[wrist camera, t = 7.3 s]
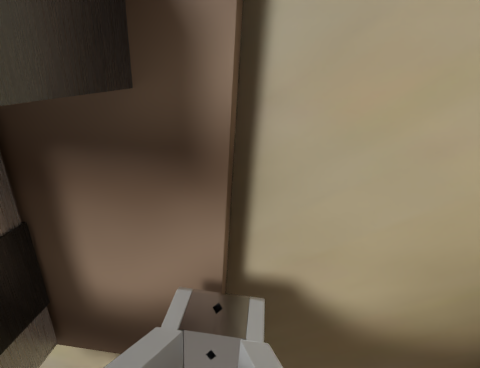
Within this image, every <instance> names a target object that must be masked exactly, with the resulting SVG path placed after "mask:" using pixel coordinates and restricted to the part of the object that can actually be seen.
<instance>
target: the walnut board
mask: <svg viewBox="0 0 480 368" xmlns="http://www.w3.org/2000/svg"><path fill="white" fill-rule="evenodd" d="M125 3H126V15H127V26H128V37H129V49H130V60H131V72H132V83H133V88H130V89H123V90H115V91H108V92H100V93H93V94H86V95H78V96H71V97H63V98H56V99H48V100H41V101H33V102H26V103H18V104H11V105H4V106H0V153H1V156H2V159H3V163H4V166H5V169H6V173H7V176H8V179H9V183H10V186H11V189H12V193H13V196H14V199H15V203H16V206H17V209H18V213H19V216H20V219H21V222H26V223H27V226H28V229H29V232H30V236H31V239H32V243H33V246H34V250H35V253H36V256H37V260H38V263H39V267H40V270H41V274H42V277H43V280H44V284H45V287H46V291H47V294H48V298H49V301H50V303H49V304H48V305H47V309H48V313H49V316H50V319H51V323H52V326H53V329H54V333H55V336H56V339H57V344H59V345H66V346H72V347H79V348H86V349H93V350H99V351H106V352H113V353H119V354H122V353H123V352H124V351H126V350H127V349H128V348H130V347H131V346H132V345H134V344H135V343H136V342H137V341H139V340H140V339H141V338H143V337H144V336H145V335H146V334H148V333H149V332H150V331H152V330H153V329H154V328H156V327H161V326H162V323H163V321H164V319H165V316H166V314H167V312H168V309H169V307H170V304H171V302H172V300H173V297H174V295H175V293H176V290H177V289H178V288H179V287H185V288H191V289H199V290H205V291H211V292H217V293H226V278H227V261H228V245H229V228H230V211H231V195H232V178H233V161H234V145H235V128H236V111H237V95H238V78H239V61H240V45H241V28H242V11H243V0H125Z"/></svg>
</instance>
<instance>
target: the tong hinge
mask: <svg viewBox="0 0 480 368" xmlns="http://www.w3.org/2000/svg"><path fill="white" fill-rule="evenodd" d="M130 88H133V83H132V72H131V60H130V49H129V37H128V26H127V15H126V3H125V0H0V106H4V105H11V104H18V103H26V102H33V101H41V100H48V99H56V98H63V97H71V96H78V95H86V94H93V93H100V92H108V91H115V90H123V89H130Z"/></svg>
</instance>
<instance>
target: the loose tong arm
mask: <svg viewBox="0 0 480 368" xmlns="http://www.w3.org/2000/svg"><path fill="white" fill-rule="evenodd" d="M49 303H50V301H49V298H48V294H47V291H46V287H45V284H44V280H43V277H42V274H41V270H40V267H39V263H38V260H37V256H36V253H35V250H34V246H33V243H32V239H31V236H30V232H29V229H28V226H27V223H26V222H21V219H20V216H19V213H18V209H17V206H16V203H15V199H14V196H13V193H12V189H11V186H10V183H9V179H8V176H7V173H6V169H5V166H4V163H3V159H2V156H1V153H0V368H39V367H40V366H41V364H42V363H43V362H44V361H45V359H46V358H47V357H48V355H49V354H50V353H51V352H52V350H53V349H54V348H55V346H56V345H57V339H56V336H55V333H54V329H53V326H52V323H51V319H50V316H49V313H48V309H47V305H48V304H49Z"/></svg>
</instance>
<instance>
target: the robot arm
mask: <svg viewBox="0 0 480 368" xmlns="http://www.w3.org/2000/svg"><path fill="white" fill-rule="evenodd" d="M264 327H265V299H264V298H258V297H250V298H249V296H243V295H235V294H227V293H217V292H211V291H205V290H199V289H191V288H185V287H179V288H178V289H177V290H176V293H175V295H174V297H173V300H172V302H171V304H170V307H169V309H168V312H167V314H166V316H165V319H164V321H163V323H162V326H161V327H156V328H154V329H153V330H152V331H150V332H149V333H148V334H146V335H145V336H144V337H143V338H141V339H140V340H139V341H137V342H136V343H135V344H134V345H132V346H131V347H130V348H128V349H127V350H126V351H124V352H123V353H122V354H121V355H119V356H118V357H117V358H115V359H114V360H113V361H112V362H110V363H109V364H108V365H106V366H105V367H104V368H283V366H282V364H281V363H280V361H279V359H278V358H277V356H276V355H275V353H274V351H273V350H272V348H271V346H270V345H269V343H264Z"/></svg>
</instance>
